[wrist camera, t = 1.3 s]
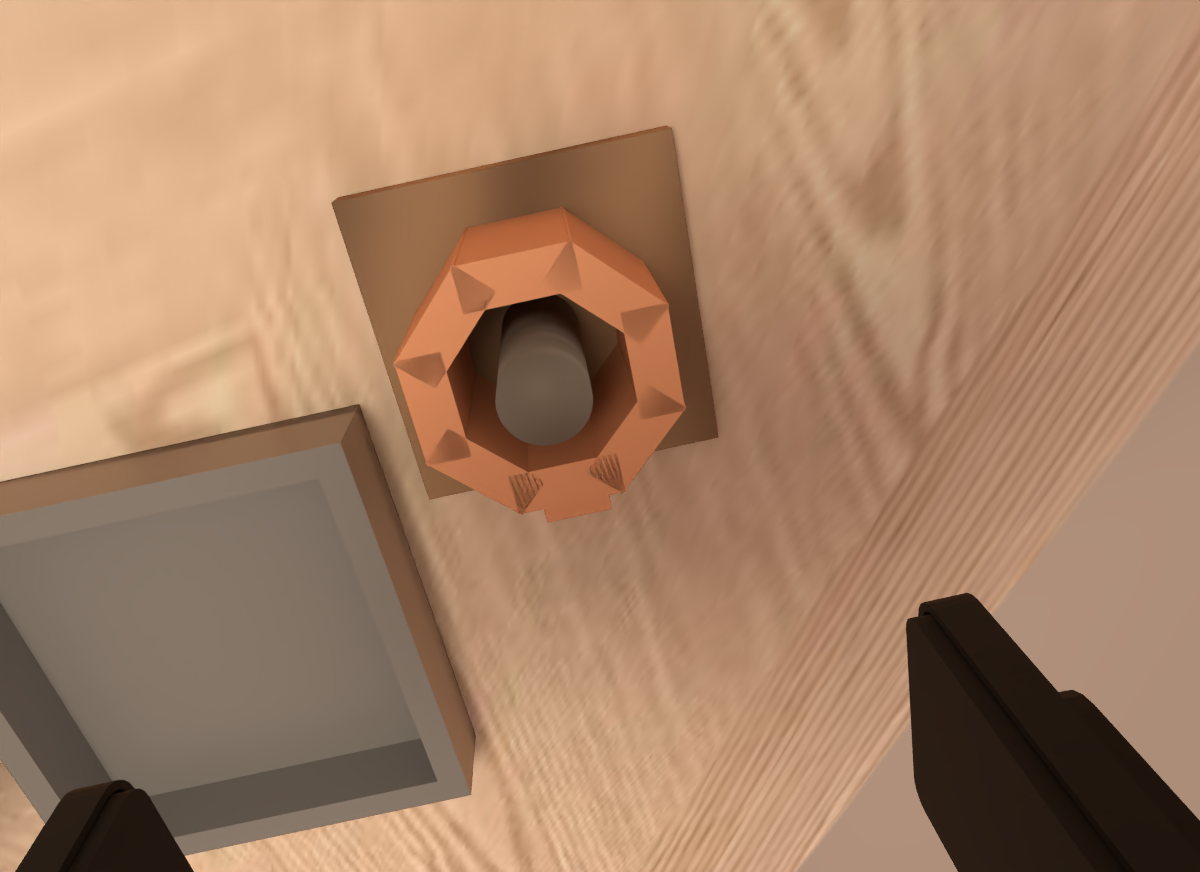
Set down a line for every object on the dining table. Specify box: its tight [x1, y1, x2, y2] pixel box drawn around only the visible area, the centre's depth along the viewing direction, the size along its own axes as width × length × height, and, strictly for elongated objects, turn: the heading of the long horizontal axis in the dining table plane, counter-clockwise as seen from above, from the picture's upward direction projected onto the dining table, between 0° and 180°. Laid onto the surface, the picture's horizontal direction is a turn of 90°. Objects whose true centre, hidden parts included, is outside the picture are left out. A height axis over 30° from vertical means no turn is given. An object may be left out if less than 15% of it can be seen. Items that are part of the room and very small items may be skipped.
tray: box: [0, 405, 475, 856], centre depth 29 cm, size 15×15×3 cm
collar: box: [393, 206, 686, 522], centre depth 24 cm, size 7×9×5 cm
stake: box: [332, 126, 718, 500], centre depth 23 cm, size 10×10×7 cm
